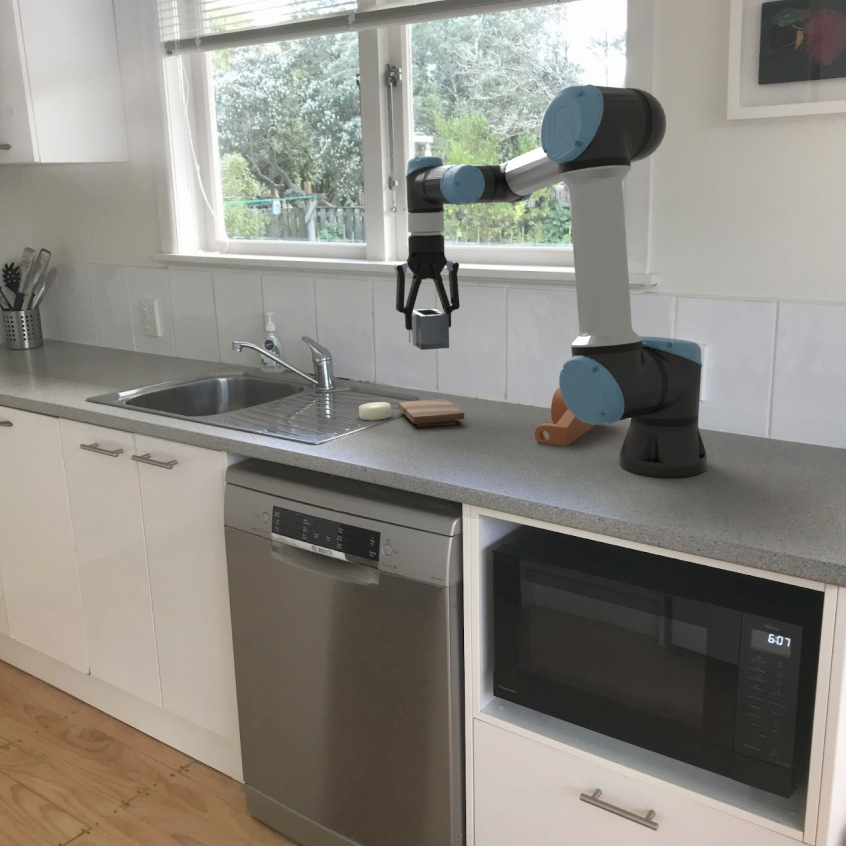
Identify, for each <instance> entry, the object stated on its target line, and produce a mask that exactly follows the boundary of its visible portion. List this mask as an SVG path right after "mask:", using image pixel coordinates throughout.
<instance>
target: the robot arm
mask: <svg viewBox="0 0 846 846" xmlns="http://www.w3.org/2000/svg"><path fill="white" fill-rule="evenodd" d="M666 117H667V116H666V113H665V110H664V108H663V106H662V104H661V102H660V101H659V100H658V99H657V97H655V96H654V95H653V94H651V93H650V92H648V91H646V90H643V89H640V88H636V87H616V86H601V85H593V84H586V85H573V86H567V87H566V88H563V89H561V90H560V91H559V92H557V93H556V94H555V95H554V96H553V97H552V99H551V100H550V101H549V103H548V106H547V107H546V108H545V110H544V112H543V115H542V118H541V121H540V127H539V142H540V145H541V146H540V147H538V148H535V149H533V150H531V151H529V152H528V151H527V152H526V153H524V154H522V155H519V156H516V157H515V158H513V159H511V160H507V161H505V162H504V163H500V164H499V163H497V164H468V163H454V164H448V165H444V162H443V159H442V157H440V156H436V155H435V156H430V155H429V156H426V155H425V156H413V157H409V158H408V159H407V161H406V175H405V180H406V181H405V183H406V205H407V207H406V208H407V232H408V233H410V235H408V237H407V239H408V240H407V241H408V248H407V249H408V257H407V259H406V261H405V262H403V263H396V264H395V265H394V270H395V273H396V290H395V291H396V295H395V298H396V299H395V310H396V311H397V312H399V313H402V314H404V327H405V330H407V331H409V330H410V342H409V343H410V344H409V345H411V346H412V347H416V346H417V343H416V315H414V314H412V312H413V310H415V309H414V307H415V304H416V301H417V297H418V294H419V291H420V290H419V289H420V287H421V284H422V281H423V280H426V279H431V280H432V281H433V284H434V285H435V288H436V291H437V294H438V298H439V301H440V304H441V307H442V310H443V312H444V313H446V314H448V315H449V328H451V326H452V313H453V312H454V311H455V310H458V309H460V305H461V304H460V295H459V280H458V273H459V267H460V263H458V262H456V261H451V260H448V259H447V258H446V257H447V256H446V255H445V235H444V234H442V233H443V232H445V214H444V211H445V208H444V205H456V206H461V205H463V206H465V205H466V206H467V205H470V204H491V203H508V204H514V203H519V202H524V201H525V202H526V201H527V200H529V199H530V197H531V196H532V194H534V193H535V192H539V191H541V190H543V189H546V188H549V187H551V186H554V185H557V184H560V183H564V184H565V185H566V187H568V196H569V199H568V200H569V210H570V224H571V240H572V249H573V250H572V252H573V264H574V277H575V289H576V290H575V291H576V303H577V304H576V305H577V315H578V316H577V317H578V331H579V333H578V335H577V337H576V338H575V339H574V340H573V342H572V343H571V345H570V349H571V357H570V358H568V360H566V362H564V364H563V366H562V369H561V370H560V372H559V379H558V385H559V386H558V387H559V388H560V392H561V395H562V398H563V401H564V403H565V404H566V406H567V408H568V409H569V410H570V411H572V413H573V415H574V416H575V417H576V418H578V419H579V420H581V421H582V422H585V423H588V424H593V425H596V426H597V425H603V424H608V425H610V424H614V423H617V422H618V421H619V422H620V421H625V420H628V419H630V424H629V426H628V429H627V431H626V432H627V433H626V434H625V438H624V440H623V441H622V442H623V443H622V445H621V448H620V451H619V463H618V464H619V466H620V467H621V469H623V471H627V472H629V473H632V474H636V475H639V476H645V477H652V478H663V479H667V478H669V479H677V478H678V479H679V478H686V477H687V478H688V477H693V476H696V475H697V476H698V475H700V474H702V473H704V472H705V471H706V470H707V464H708V461H707V460H708V456H707V452H706V448H705V445H704V442H703V438H702V434H701V431H700V427H699V418H700V417H699V414H700V413H699V412H700V397H701V394H700V393H701V380H702V367H703V363H702V349H701V346H700V345H699V344H698V343H697V342H694V341H690V340H685V339H678V338H677V339H676V338H669V337H657V336H647V335H646V336H640V335H639V334H637V332H636V331H634V329H633V323H632V310H631V309H632V308H631V295H630V294H631V293H630V292H631V291H630V280H629V265H628V252H627V251H628V249H627V235H626V233H627V232H626V221H625V220H626V219H625V205H624V204H625V202H624V189H623V187H624V186H623V180H624V179H625V177H626V176H627V175H628V174H629V172H630V171H631V170H632V163H635V162H639V161H641V160H644V159H647V158H648V157H649V156H651V155H653V154H654V153H655V152H656V151H657V149H658V148H659V147H660V146H661V143H662V142H663V140H664V138H665V134H666V132H667V131H666V129H667V118H666ZM445 267H446V270H447V271H448V284H449V286H448V287H449V293H450V295H449V296H450V300H449V297H448V295H447V291H446V288H445V285H444V281H443V277H442V272H443V270H444V269H445ZM408 269H409V270H410V271H411V273H412V274H413V275H412V279H411V285H410V288H409V291H408V296H407V299H406V303H405V291H406V290H405V287H406V276H405V275H406V274H407V272H408V271H407V270H408Z"/></svg>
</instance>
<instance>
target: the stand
mask: <svg viewBox="0 0 846 846" xmlns="http://www.w3.org/2000/svg"><path fill="white" fill-rule="evenodd" d="M397 409H398V410H400V412H401V413H403V415H404V416H406V417H407V419H408V420H410V421H411V423H413V424H415V425H417V426H418V427H419V428H422V427H423V428H424V427H425V428H426V427H435V426H437V427H439V426H449V425H457V424H456V422H457V421H458V420H465V412H464V411H462V410H461V409H460V408H459V407H457V406H456V405H455V404H453V403H452V402H451V401H449V400H448V399H447V398H446V397H445V398H444V397H443V398H435V399H434V398H433V399H422V400H421V399H420V400H408V401H398V402H397Z"/></svg>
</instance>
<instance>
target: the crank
mask: <svg viewBox="0 0 846 846" xmlns="http://www.w3.org/2000/svg"><path fill="white" fill-rule="evenodd" d="M550 407H551V408H550V414H551V415H550V416H551V421H552V423H549V422H544V423H543V424H541V425H539V426H537V427H536V428H535V430H534V438H535V440H536V441H537V442H538V443H539V444H540V443H541V444H545V445H546V444H548V445H554V446H563V447H564V446H565V447H567V446H569V445H570V444H571V443H573V442H575V441H576V440H577V439H579V438H581V437H582V436H583V435H585V434H586V433H588V432H589V431H590V430H593V428H595V427H596V426H597V425H593V424H588V423H585V422H582V421H581V420H579V419H578V418H576V417H575V416H574V415H573V413H572V411H570V410H569V409H568V408H567V406H566V404H565V403H564V401H563V398H562V395H561V392H560V387H558V388H556V390H555V392H554V393H553V396H552V399H551V405H550ZM544 431H545V432H547V433H548V436H549V437H548V438H547V437H546V436H545V435H544Z"/></svg>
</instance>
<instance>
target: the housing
mask: <svg viewBox="0 0 846 846" xmlns="http://www.w3.org/2000/svg"><path fill="white" fill-rule="evenodd" d="M412 314H414V315H416V343H417V346H415V347H416V348H418V349H419V350H421V351H423V350H425V351H426V350H438V349H440V350H441V349H450V327H449V315H448V314H446V313H444V311H441V310H440V309H437V308H426V309H422V308H421V309H413V312H412ZM408 342H409V343H410V330H408Z"/></svg>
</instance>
